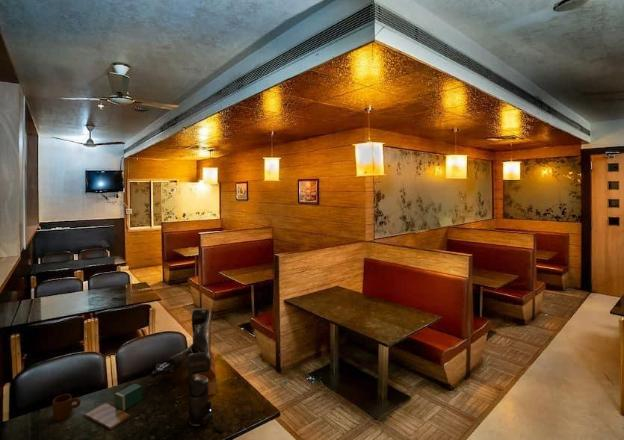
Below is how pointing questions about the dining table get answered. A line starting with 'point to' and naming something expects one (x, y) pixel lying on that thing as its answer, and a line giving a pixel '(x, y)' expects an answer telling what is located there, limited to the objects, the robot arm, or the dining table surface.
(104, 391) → the dining table surface
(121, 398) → the carton
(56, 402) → the mug
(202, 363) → the robot arm
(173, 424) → the dining table surface
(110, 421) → the cork mat
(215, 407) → the dining table surface
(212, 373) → the bread
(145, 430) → the dining table surface
